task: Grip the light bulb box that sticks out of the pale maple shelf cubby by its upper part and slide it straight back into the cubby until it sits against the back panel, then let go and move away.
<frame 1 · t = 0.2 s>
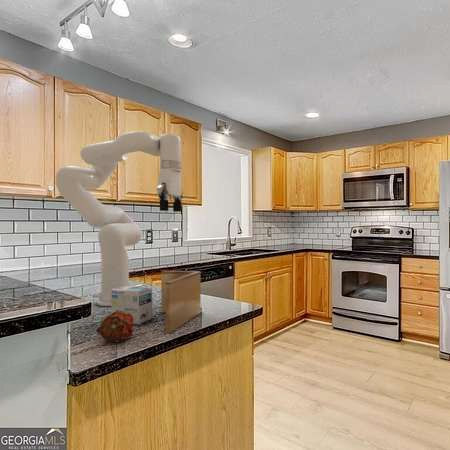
hand: (170, 211, 125), 37 cm above the counter, tool pointing down, fingers open, 9 cm apart
shelf: (164, 320, 105), on the counter
dragon fruit: (116, 340, 89), on the counter
light bulb box: (132, 321, 105), on the counter
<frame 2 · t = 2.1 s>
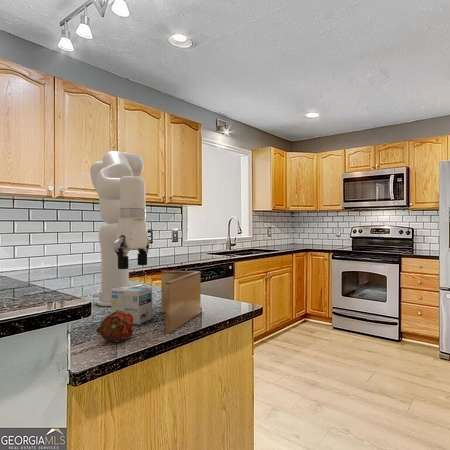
hand: (133, 266, 105), 18 cm above the counter, tool pointing down, fingers open, 9 cm apart
nothing on the counter moved.
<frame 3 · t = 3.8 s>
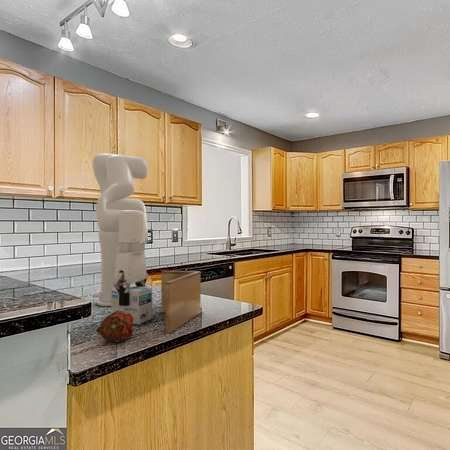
hand: (132, 301, 105), 6 cm above the counter, tool pointing down, fingers closed on light bulb box, 6 cm apart
light bulb box: (132, 321, 105), on the counter, touching gripper
everything else where it was.
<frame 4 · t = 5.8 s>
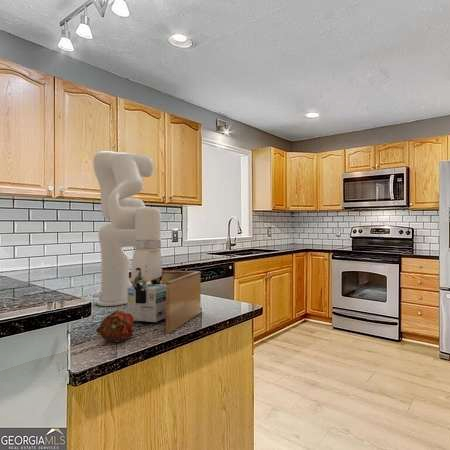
hand: (148, 299, 105), 7 cm above the counter, tool pointing down, fingers closed on light bulb box, 6 cm apart
light bulb box: (148, 319, 105), point 1 cm above the counter, touching gripper
everything else where it was.
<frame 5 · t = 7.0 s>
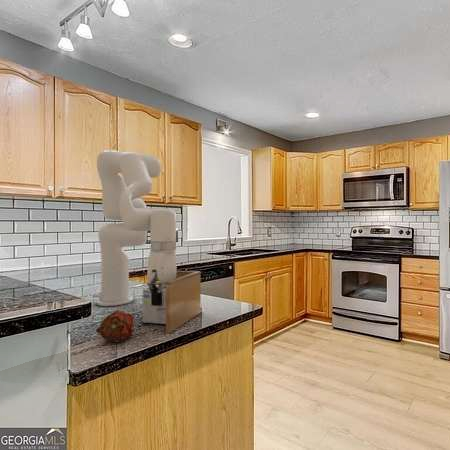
hand: (163, 301, 104), 7 cm above the counter, tool pointing down, fingers closed on light bulb box, 6 cm apart
light bulb box: (163, 321, 104), on the counter, touching gripper
everything else where it was.
when the fingers open (6 cm above the counter, at t = 7.7 s): light bulb box stays where it is, on the counter.
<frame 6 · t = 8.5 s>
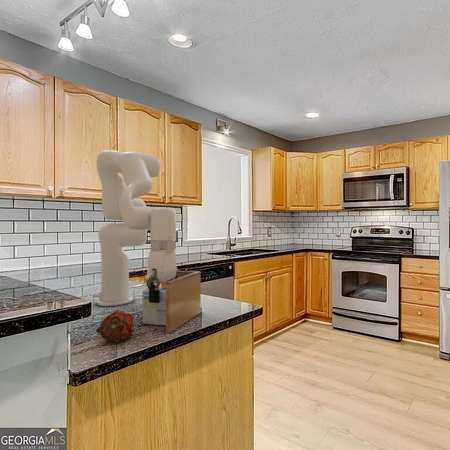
hand: (162, 298, 104), 8 cm above the counter, tool pointing down, fingers open, 9 cm apart
light bulb box: (163, 322, 104), on the counter
everything else where it was.
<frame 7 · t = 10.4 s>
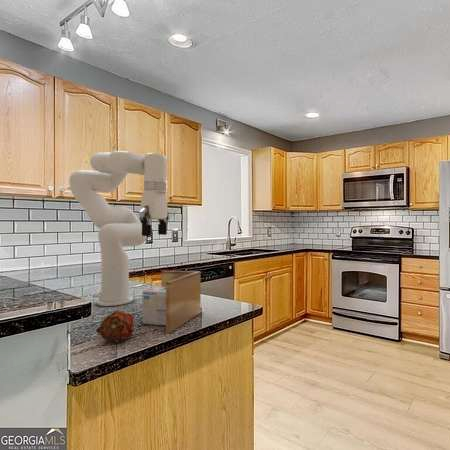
hand: (154, 235, 117), 28 cm above the counter, tool pointing down, fingers open, 9 cm apart
nothing on the counter moved.
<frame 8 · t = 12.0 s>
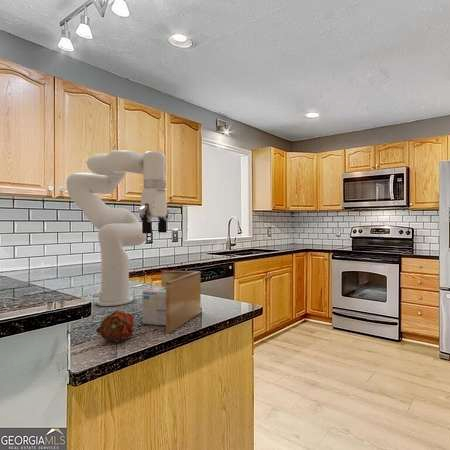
hand: (154, 232, 118), 28 cm above the counter, tool pointing down, fingers open, 9 cm apart
nothing on the counter moved.
at the end: light bulb box 0.6 cm from the target spot on the shelf, point 0.0 cm above the shelf's base; light bulb box tilted 0°; the gripper is holding nothing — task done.
